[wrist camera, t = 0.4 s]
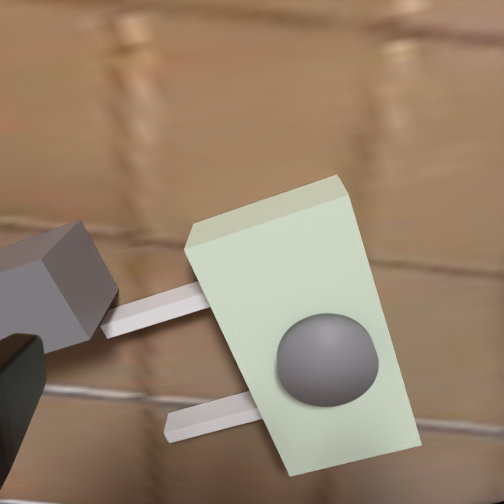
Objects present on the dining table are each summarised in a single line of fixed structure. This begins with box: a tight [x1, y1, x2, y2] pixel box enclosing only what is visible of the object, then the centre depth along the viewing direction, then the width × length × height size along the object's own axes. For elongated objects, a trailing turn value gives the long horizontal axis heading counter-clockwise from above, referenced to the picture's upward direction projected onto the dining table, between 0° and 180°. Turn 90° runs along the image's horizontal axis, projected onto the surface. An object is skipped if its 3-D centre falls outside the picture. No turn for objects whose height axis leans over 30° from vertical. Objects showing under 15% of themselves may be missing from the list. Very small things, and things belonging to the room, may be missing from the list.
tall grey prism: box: [0, 220, 119, 354], centre depth 21 cm, size 4×8×4 cm, turn 110°
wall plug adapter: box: [100, 175, 422, 477], centre depth 23 cm, size 14×13×4 cm
